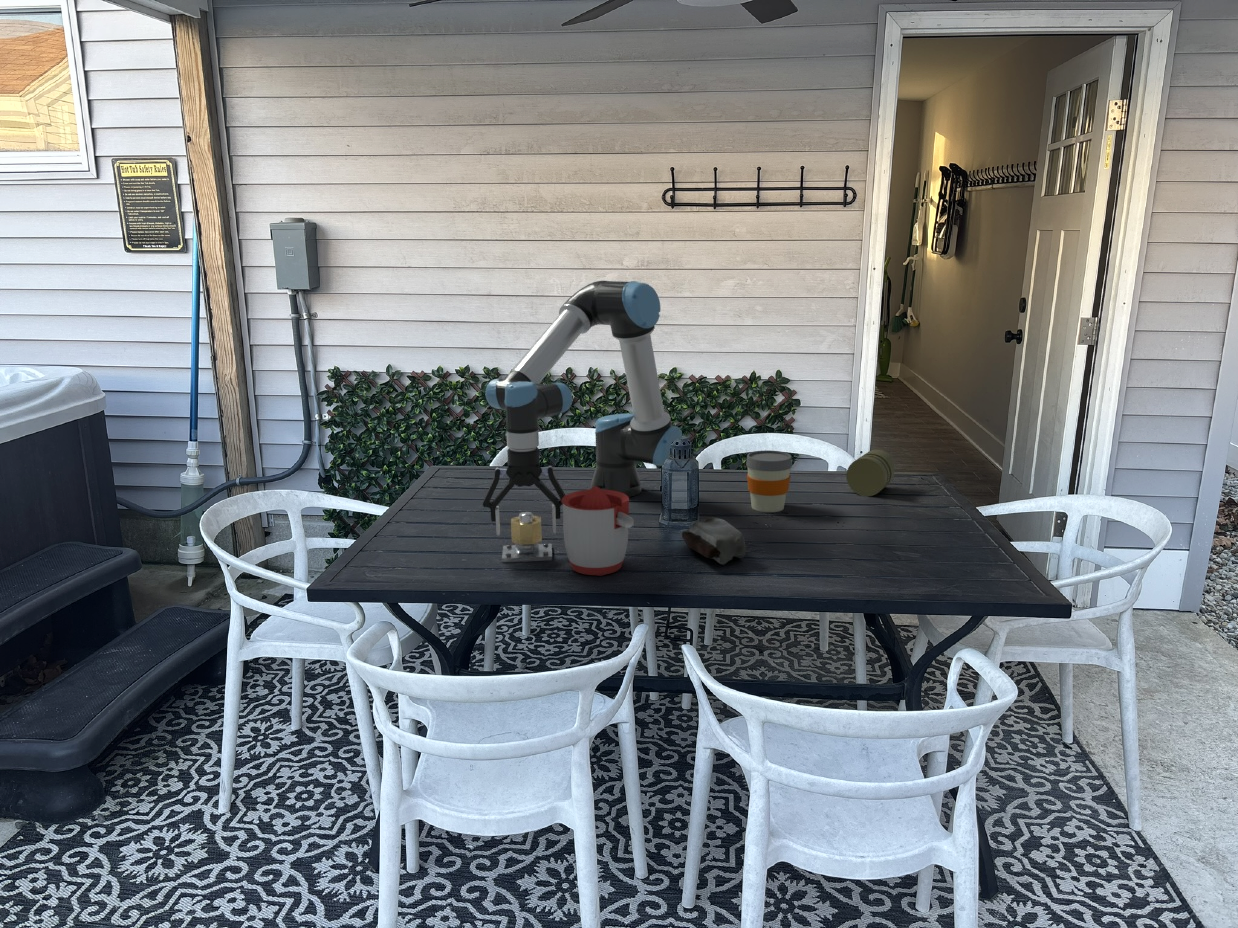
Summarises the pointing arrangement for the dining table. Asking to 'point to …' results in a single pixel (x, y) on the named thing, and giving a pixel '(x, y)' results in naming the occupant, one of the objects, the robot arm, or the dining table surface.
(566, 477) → the dining table surface
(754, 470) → the reusable coffee cup
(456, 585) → the dining table surface
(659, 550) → the dining table surface
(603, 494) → the citrus juicer
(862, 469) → the piston
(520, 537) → the hub
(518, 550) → the shaft stand
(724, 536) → the dark grey lump
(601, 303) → the robot arm
